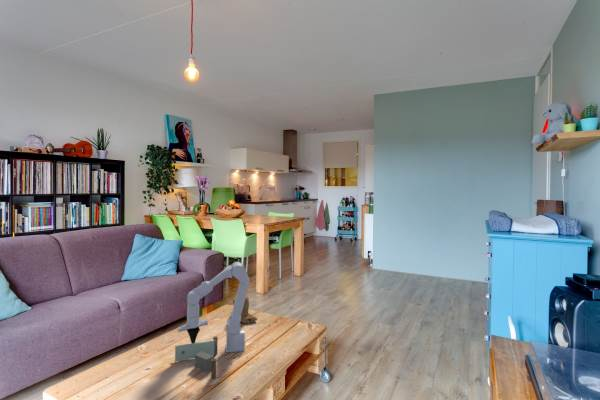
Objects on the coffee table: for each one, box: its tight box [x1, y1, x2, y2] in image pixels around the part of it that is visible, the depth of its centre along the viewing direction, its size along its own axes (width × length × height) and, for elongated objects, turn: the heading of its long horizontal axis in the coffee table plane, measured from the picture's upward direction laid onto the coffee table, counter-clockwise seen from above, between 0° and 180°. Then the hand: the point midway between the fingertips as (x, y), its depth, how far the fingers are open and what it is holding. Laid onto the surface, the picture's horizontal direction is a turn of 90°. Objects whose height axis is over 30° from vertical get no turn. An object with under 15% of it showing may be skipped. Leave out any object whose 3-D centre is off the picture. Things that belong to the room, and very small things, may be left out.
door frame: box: [210, 336, 219, 380], centre depth 152 cm, size 2×24×8 cm, turn 13°
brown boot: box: [232, 295, 258, 324], centre depth 204 cm, size 15×12×15 cm
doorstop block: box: [194, 351, 215, 373], centre depth 149 cm, size 8×4×6 cm, turn 58°
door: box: [174, 339, 218, 362], centre depth 157 cm, size 19×2×7 cm, turn 113°
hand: (192, 342), depth 162 cm, fingers closed
